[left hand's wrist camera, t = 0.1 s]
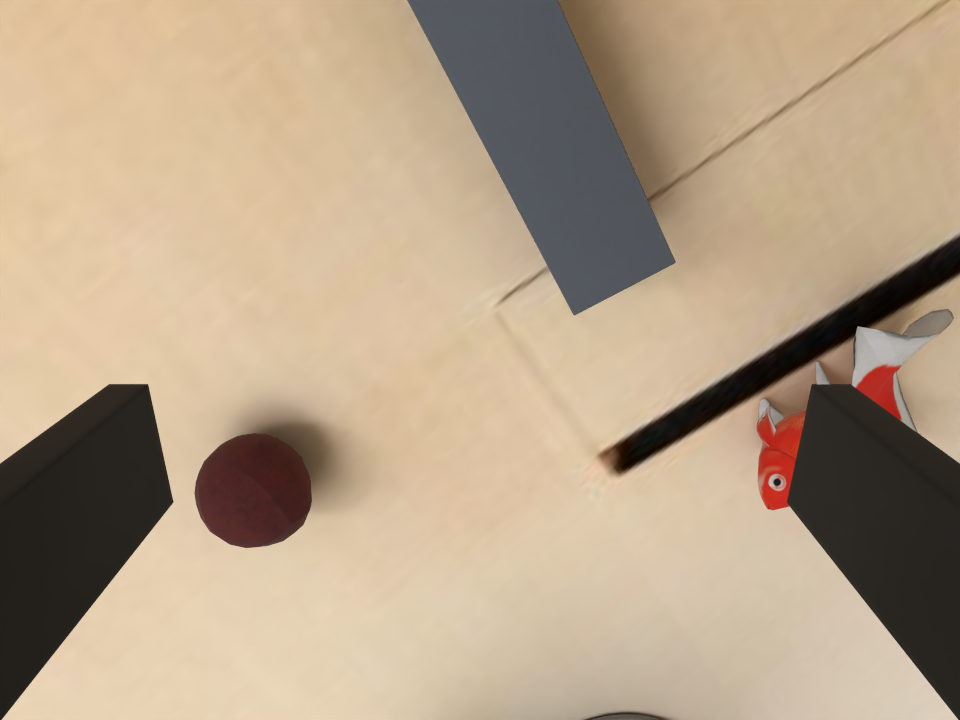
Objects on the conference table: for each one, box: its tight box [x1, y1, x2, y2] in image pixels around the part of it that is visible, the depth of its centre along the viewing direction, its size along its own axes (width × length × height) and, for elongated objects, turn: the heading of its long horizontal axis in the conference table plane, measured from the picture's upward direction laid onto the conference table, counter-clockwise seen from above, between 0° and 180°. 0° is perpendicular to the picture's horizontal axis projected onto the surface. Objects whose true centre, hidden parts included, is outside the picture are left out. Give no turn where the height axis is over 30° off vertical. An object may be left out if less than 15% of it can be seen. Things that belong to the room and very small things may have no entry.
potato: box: [195, 434, 312, 548], centre depth 41 cm, size 7×8×7 cm
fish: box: [757, 309, 954, 510], centre depth 39 cm, size 11×16×10 cm
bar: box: [408, 0, 675, 315], centre depth 32 cm, size 25×6×8 cm, turn 29°
